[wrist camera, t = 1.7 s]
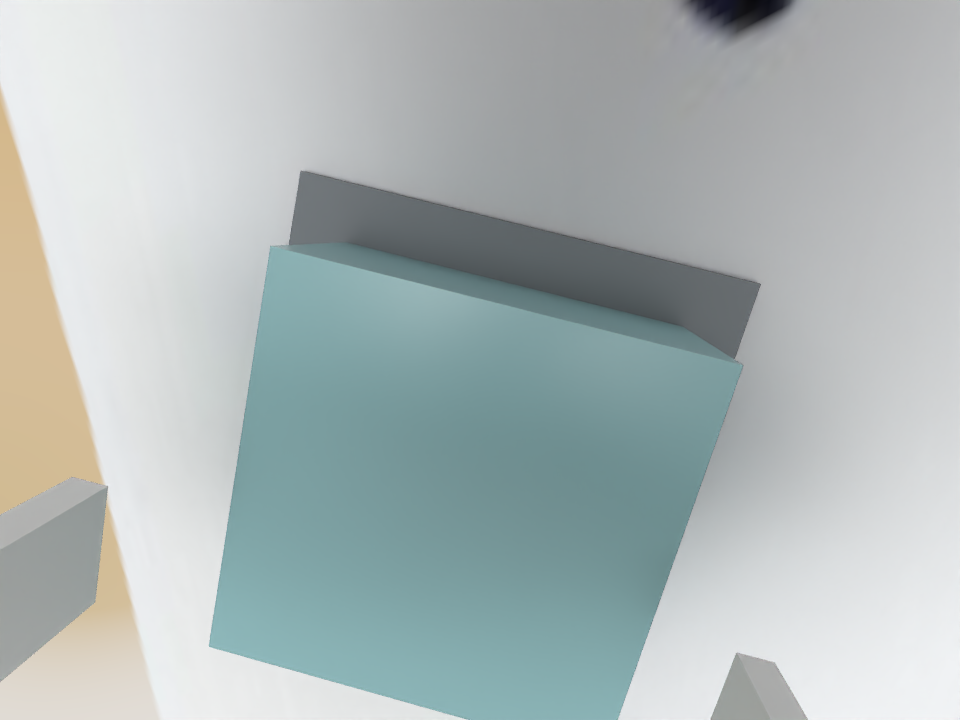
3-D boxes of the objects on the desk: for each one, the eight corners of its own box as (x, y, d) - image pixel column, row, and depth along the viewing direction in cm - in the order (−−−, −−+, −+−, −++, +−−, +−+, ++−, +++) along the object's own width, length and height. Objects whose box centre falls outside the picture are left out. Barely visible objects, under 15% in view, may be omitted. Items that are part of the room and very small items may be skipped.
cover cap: (683, 326, 20) (743, 365, 14) (586, 623, 23) (603, 757, 17) (346, 242, 21) (270, 246, 15) (291, 542, 23) (209, 646, 17)
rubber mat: (756, 283, 20) (760, 283, 20) (620, 672, 24) (622, 679, 23) (305, 171, 21) (300, 170, 20) (240, 567, 24) (236, 573, 24)
